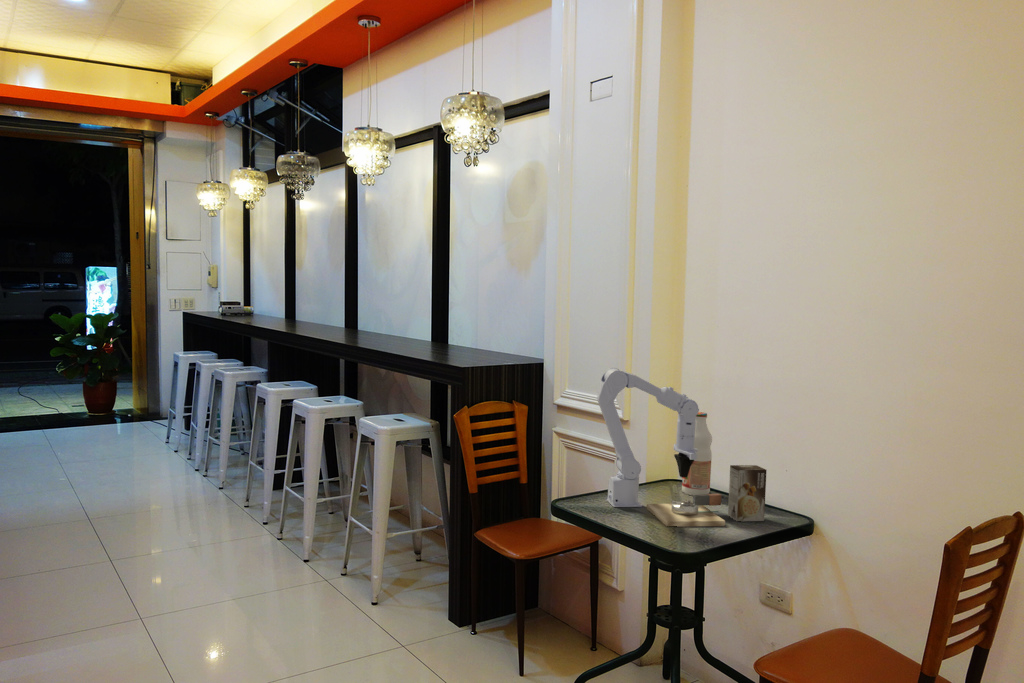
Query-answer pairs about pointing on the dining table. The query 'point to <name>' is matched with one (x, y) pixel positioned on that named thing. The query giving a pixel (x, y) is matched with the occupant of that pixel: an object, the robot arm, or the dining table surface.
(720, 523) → the nut base
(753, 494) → the biscuit box
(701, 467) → the fruit juice
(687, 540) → the dining table surface
